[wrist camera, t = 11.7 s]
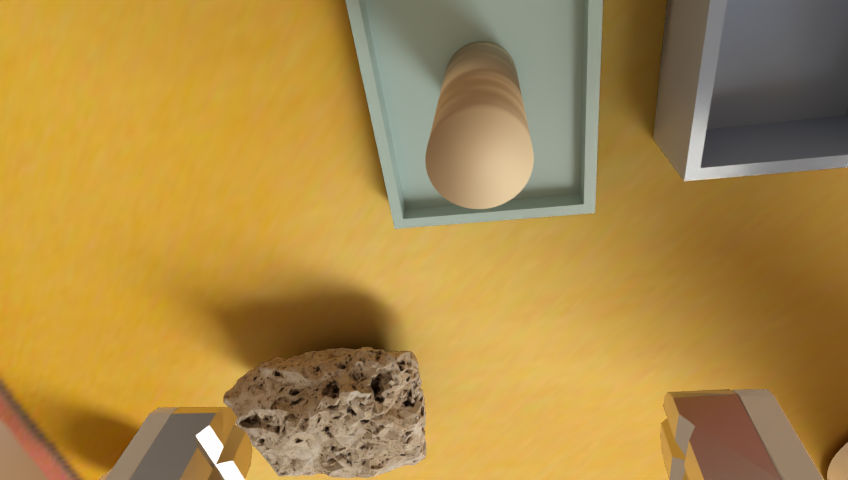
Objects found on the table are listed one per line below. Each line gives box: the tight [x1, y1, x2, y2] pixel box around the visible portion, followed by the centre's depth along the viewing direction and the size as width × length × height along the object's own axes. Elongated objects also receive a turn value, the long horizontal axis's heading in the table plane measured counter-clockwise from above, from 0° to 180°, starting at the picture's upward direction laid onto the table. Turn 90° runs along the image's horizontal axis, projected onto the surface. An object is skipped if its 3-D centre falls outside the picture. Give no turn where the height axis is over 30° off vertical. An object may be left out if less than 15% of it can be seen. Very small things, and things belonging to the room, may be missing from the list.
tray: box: [345, 0, 603, 229], centre depth 25 cm, size 11×15×2 cm
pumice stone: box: [224, 347, 426, 478], centre depth 36 cm, size 14×12×8 cm
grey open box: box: [653, 0, 848, 181], centre depth 21 cm, size 9×9×5 cm
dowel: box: [425, 41, 534, 209], centre depth 21 cm, size 4×4×10 cm
